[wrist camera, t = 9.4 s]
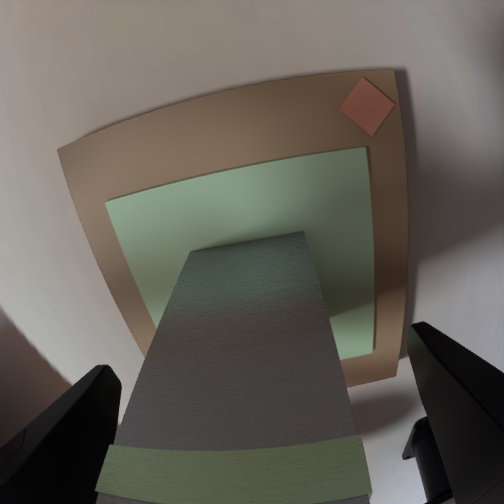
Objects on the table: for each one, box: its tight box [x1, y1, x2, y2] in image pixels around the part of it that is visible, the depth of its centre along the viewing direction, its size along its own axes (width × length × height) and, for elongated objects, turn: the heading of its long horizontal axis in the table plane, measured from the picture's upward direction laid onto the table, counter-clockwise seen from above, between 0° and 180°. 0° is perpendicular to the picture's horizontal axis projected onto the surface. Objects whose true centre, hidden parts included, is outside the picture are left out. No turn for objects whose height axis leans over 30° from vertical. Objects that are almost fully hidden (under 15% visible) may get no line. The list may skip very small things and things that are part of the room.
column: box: [95, 231, 372, 504], centre depth 8 cm, size 4×4×9 cm
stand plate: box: [57, 69, 408, 387], centre depth 12 cm, size 14×12×1 cm
